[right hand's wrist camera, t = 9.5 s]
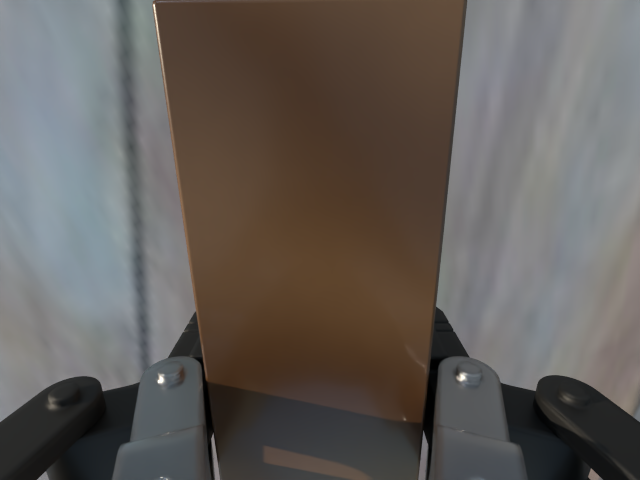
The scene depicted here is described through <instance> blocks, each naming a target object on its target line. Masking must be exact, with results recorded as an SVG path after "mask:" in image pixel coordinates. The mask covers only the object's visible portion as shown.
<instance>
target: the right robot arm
mask: <svg viewBox="0 0 640 480" xmlns="http://www.w3.org/2000/svg"><path fill="white" fill-rule="evenodd" d="M448 322H449V321H448V320H447V318H446V316H445V315H444V313H443V311H441V310H440V309H439V308H437V307H436V311H435V321H434V330H433V340H432V350H431V360H430V369H429V379H428V389H427V399H426V408H425V418H424V428H423V430H424V433H425V436H426V439H427V443H428V449H427V461H426V474H425V480H590V479H589V478H588V475H589V472H590V469H591V468H592V469H593V470H594V471H595V472H596V473H597V474H598V475H599V476H600V477H601V478H602V479H603V480H640V422H639V421H637V420H636V419H635V418H633V417H632V416H631V415H629V414H628V413H627V412H625V411H624V410H623V409H621V408H620V407H619V406H617V405H616V404H614V403H613V402H612V401H610V400H609V399H608V398H606V397H605V396H604V395H602V394H601V393H600V392H598V391H597V390H596V389H594V388H593V387H591V386H589V385H587V384H585V383H583V382H581V381H579V380H576V379H573V378H570V377H565V376H559V375H551V376H546V377H543V378H542V379H540V380H539V382H538V384H537V388H536V391H532V390H528V389H523V388H519V387H514V386H510V385H506V384H503V383H500V379H499V377H498V375H497V374H496V372H495V371H494V370H493V369H492V368H491V367H489V366H488V365H486V364H485V363H483V362H481V361H479V360H476V359H473V358H470V357H469V356H468V354H467V352H466V351H465V349H464V347H463V345H462V344H461V342H460V340H459V339H458V337H457V335H456V333H455V332H453V328H452V327H451V325H450V323H448ZM212 435H213V425H212V418H211V411H210V404H209V397H208V390H207V383H206V376H205V369H204V362H203V355H202V348H201V341H200V334H199V327H198V320H197V314H196V312H195V313H194V315H193V316H192V318H191V320H190V322H189V324H188V325H187V327H186V328H185V330H184V332H183V333H182V335H181V337H180V338H179V340H178V342H177V343H176V345H175V347H174V348H173V350H172V352H171V353H170V355H169V357H168V358H167V359H164V360H161V361H159V362H157V363H155V364H154V365H152V366H151V367H149V368H148V369H147V370H146V371H145V372H144V374H143V375H142V377H141V379H140V382H139V383H136V384H133V385H129V386H125V387H121V388H116V389H112V390H107V391H102V387H101V384H100V382H99V381H98V380H97V379H95V378H93V377H87V376H81V377H74V378H69V379H66V380H63V381H60V382H58V383H55V384H53V385H51V386H50V387H48V388H46V389H45V390H43V391H42V392H40V393H39V394H38V395H36V396H35V397H34V398H32V399H31V400H30V401H28V402H27V403H26V404H24V405H23V406H21V407H20V408H19V409H17V410H16V411H15V412H13V413H12V414H11V415H9V416H8V417H7V418H5V419H4V420H3V421H1V422H0V480H37V479H38V478H39V477H40V476H41V475H42V474H43V473H44V472H45V471H46V472H47V475H48V478H49V480H215V474H214V461H213V449H212V442H211V438H212Z"/></svg>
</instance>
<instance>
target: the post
mask: <svg viewBox="0 0 640 480" xmlns="http://www.w3.org/2000/svg"><path fill="white" fill-rule="evenodd" d="M152 6H153V13H154V20H155V27H156V34H157V41H158V48H159V55H160V62H161V69H162V76H163V83H164V90H165V97H166V104H167V111H168V118H169V125H170V132H171V139H172V146H173V153H174V160H175V167H176V174H177V181H178V188H179V195H180V202H181V209H182V216H183V223H184V230H185V237H186V244H187V251H188V258H189V265H190V272H191V279H192V286H193V293H194V300H195V307H196V314H197V320H198V327H199V334H200V341H201V348H202V355H203V362H204V369H205V376H206V383H207V390H208V397H209V404H210V411H211V418H212V425H213V432H214V439H215V446H216V453H217V460H218V467H219V474H220V480H418V477H419V467H420V457H421V448H422V438H423V428H424V418H425V408H426V399H427V389H428V379H429V369H430V360H431V350H432V340H433V330H434V321H435V311H436V301H437V291H438V281H439V272H440V262H441V252H442V242H443V233H444V223H445V213H446V203H447V193H448V184H449V174H450V164H451V154H452V145H453V135H454V125H455V115H456V106H457V96H458V86H459V76H460V66H461V57H462V47H463V37H464V27H465V18H466V8H467V0H155V1H153V5H152Z"/></svg>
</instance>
